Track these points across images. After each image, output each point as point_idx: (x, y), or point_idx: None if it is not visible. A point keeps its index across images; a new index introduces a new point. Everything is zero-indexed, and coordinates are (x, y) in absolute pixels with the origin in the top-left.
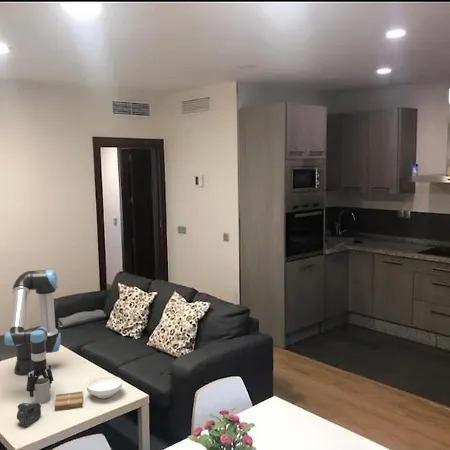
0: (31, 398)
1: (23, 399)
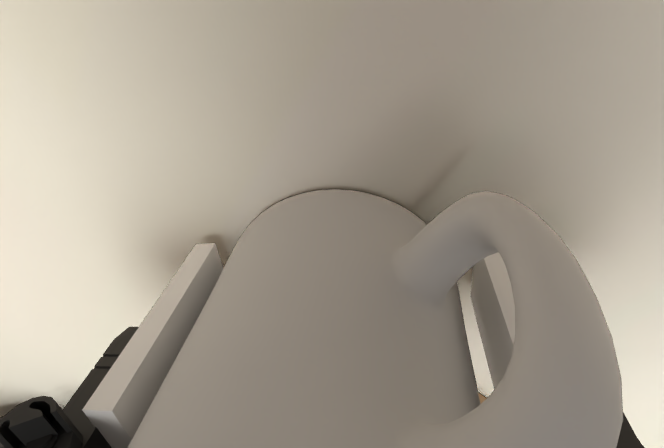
0: (174, 288)
1: (153, 11)
